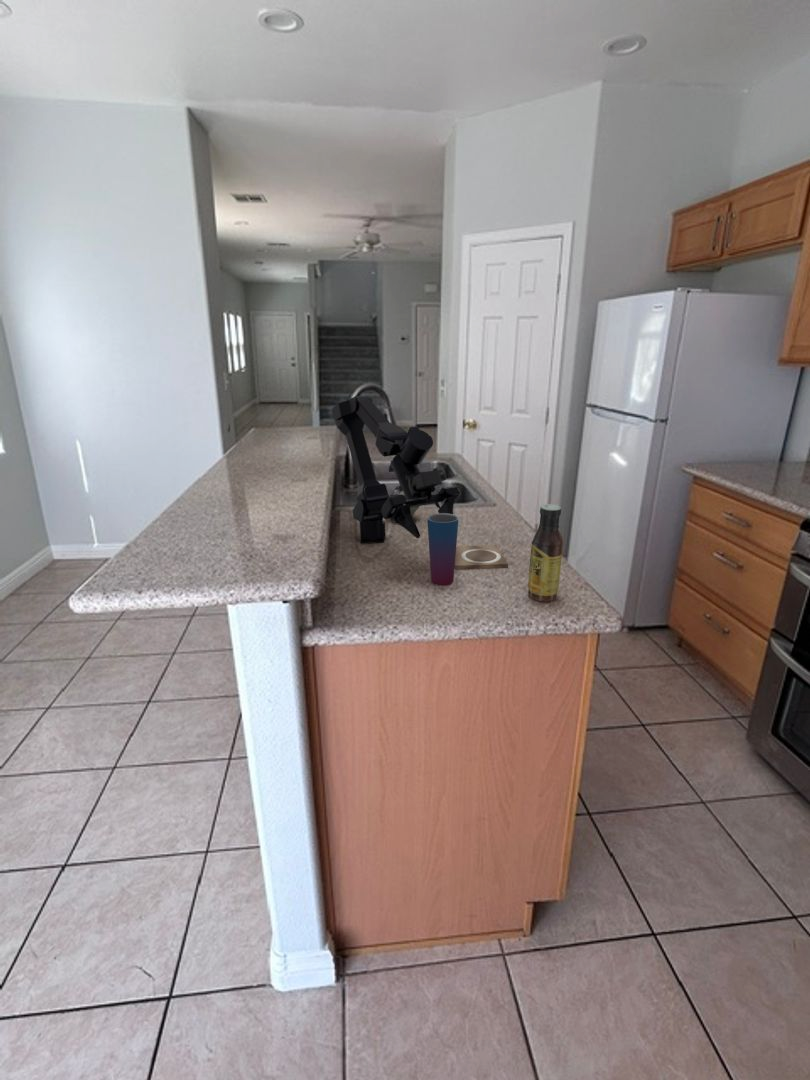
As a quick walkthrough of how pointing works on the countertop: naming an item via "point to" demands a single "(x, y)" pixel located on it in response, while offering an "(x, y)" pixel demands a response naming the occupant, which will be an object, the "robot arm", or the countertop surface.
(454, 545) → the cup
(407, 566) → the countertop surface
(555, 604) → the countertop surface
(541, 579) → the sauce bottle
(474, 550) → the board
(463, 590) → the countertop surface
